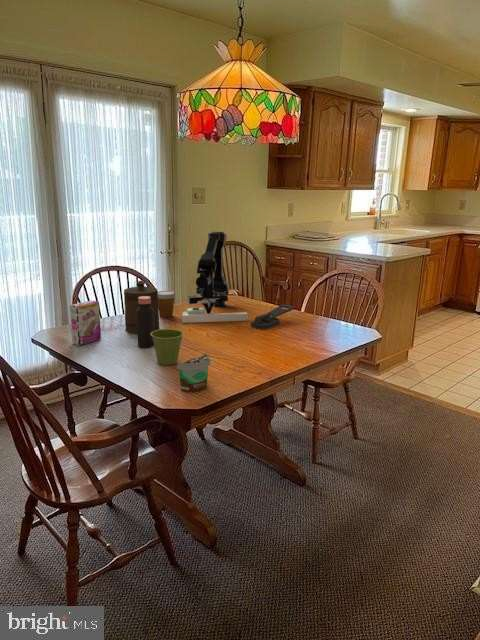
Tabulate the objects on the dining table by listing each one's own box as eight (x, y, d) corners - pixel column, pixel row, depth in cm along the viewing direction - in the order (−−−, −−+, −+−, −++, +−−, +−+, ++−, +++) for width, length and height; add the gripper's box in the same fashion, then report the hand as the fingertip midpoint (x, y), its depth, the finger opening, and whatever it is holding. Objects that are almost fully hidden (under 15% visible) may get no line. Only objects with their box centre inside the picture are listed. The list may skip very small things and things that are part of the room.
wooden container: (139, 322, 226) (137, 276, 220) (165, 327, 220) (164, 279, 214) (118, 331, 213) (115, 282, 207) (146, 336, 207) (144, 285, 201)
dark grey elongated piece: (296, 306, 233) (263, 316, 216) (296, 320, 235) (263, 330, 217) (281, 303, 239) (248, 312, 221) (281, 316, 241) (248, 326, 223)
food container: (190, 397, 149) (190, 367, 146) (177, 391, 153) (176, 362, 150) (218, 385, 158) (218, 357, 155) (205, 380, 162) (205, 352, 159)
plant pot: (186, 366, 174) (186, 337, 171) (153, 369, 170) (152, 339, 167) (181, 355, 185) (180, 327, 181) (149, 358, 181) (148, 329, 178)
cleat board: (181, 317, 236) (181, 310, 235) (244, 315, 241) (244, 308, 240) (182, 322, 227) (182, 315, 226) (247, 320, 232) (247, 313, 231)
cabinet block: (187, 318, 235) (186, 306, 233) (203, 317, 236) (203, 306, 235) (188, 321, 230) (187, 309, 228) (204, 320, 231) (204, 308, 229)
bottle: (134, 347, 193) (132, 298, 188) (143, 342, 199) (141, 294, 194) (149, 349, 191) (147, 300, 185) (158, 344, 197) (156, 296, 191)
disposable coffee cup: (168, 312, 244) (168, 289, 240) (179, 316, 237) (179, 293, 234) (152, 316, 238) (151, 292, 234) (163, 320, 231) (162, 295, 227)
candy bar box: (79, 346, 193) (76, 306, 188) (72, 344, 196) (68, 304, 191) (102, 339, 202) (99, 301, 197) (94, 337, 204) (91, 299, 200)
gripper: (222, 279, 239) (223, 310, 243) (185, 282, 234) (186, 313, 238) (228, 284, 229) (228, 315, 233) (189, 286, 224) (190, 319, 228)
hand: (208, 315), depth 233 cm, fingers closed
